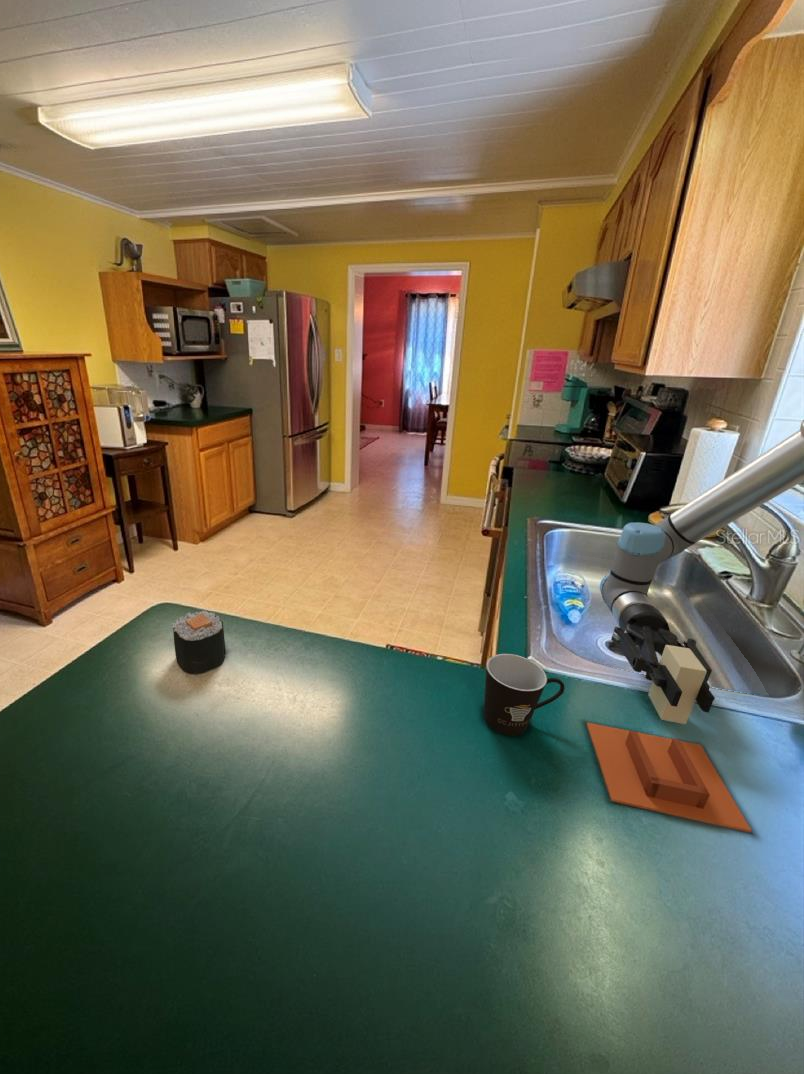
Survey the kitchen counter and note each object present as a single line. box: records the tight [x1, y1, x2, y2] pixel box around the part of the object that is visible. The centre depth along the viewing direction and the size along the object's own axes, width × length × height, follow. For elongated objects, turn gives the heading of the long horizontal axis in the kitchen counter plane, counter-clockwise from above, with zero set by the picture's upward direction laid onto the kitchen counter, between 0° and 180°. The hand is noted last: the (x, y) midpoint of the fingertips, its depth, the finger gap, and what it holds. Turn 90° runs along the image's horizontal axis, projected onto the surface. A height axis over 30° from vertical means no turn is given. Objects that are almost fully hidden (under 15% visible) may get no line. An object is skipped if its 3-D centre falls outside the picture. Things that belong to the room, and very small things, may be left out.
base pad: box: [586, 722, 752, 833], centre depth 65 cm, size 16×14×4 cm
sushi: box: [171, 610, 227, 675], centre depth 82 cm, size 8×8×8 cm
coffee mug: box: [483, 653, 565, 737], centre depth 71 cm, size 12×9×10 cm
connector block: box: [647, 645, 707, 725], centre depth 74 cm, size 4×6×10 cm, turn 167°
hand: (692, 701), depth 69 cm, fingers closed on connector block, 3 cm apart
